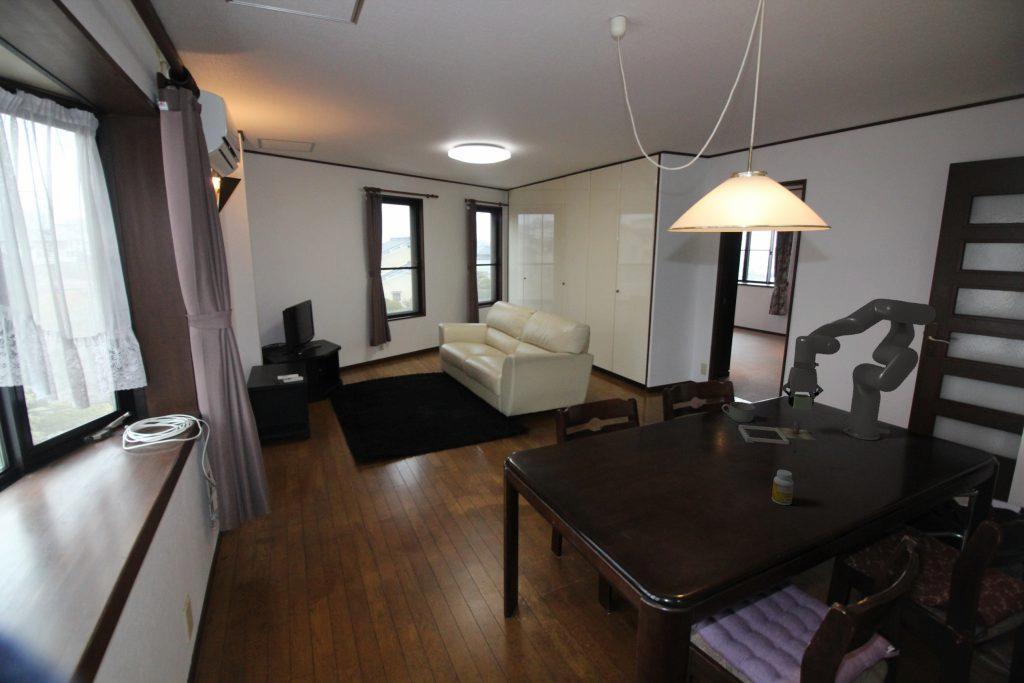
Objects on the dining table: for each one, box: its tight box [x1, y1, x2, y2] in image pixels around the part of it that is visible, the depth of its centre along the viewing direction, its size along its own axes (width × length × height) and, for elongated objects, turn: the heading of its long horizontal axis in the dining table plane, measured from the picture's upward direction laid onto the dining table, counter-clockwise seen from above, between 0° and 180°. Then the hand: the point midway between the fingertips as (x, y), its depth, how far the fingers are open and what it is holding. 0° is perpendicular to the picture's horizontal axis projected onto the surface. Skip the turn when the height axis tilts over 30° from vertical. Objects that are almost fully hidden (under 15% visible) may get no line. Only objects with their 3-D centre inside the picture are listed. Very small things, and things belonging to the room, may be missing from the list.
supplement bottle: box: [771, 469, 795, 506], centre depth 141 cm, size 5×5×10 cm
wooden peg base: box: [776, 420, 817, 441], centre depth 195 cm, size 12×12×6 cm
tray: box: [738, 424, 790, 445], centre depth 193 cm, size 16×16×2 cm
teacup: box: [721, 401, 756, 424], centre depth 213 cm, size 14×11×8 cm
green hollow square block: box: [791, 393, 813, 411], centre depth 193 cm, size 6×6×5 cm
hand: (800, 405), depth 193 cm, fingers closed on green hollow square block, 6 cm apart
